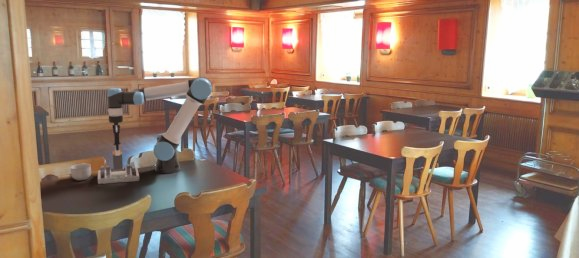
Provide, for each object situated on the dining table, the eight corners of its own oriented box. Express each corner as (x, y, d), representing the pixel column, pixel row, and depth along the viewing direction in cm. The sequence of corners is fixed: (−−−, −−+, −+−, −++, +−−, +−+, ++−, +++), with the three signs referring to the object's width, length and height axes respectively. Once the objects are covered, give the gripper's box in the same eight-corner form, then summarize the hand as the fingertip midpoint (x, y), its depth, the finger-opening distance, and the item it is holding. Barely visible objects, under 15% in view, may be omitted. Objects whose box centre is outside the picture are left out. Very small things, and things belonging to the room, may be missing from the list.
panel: (137, 172, 285) (136, 160, 283) (139, 180, 268) (138, 168, 267) (98, 175, 277) (97, 163, 275) (98, 184, 260) (97, 171, 259)
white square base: (134, 167, 284) (134, 161, 283) (136, 176, 267) (136, 170, 266) (100, 170, 277) (100, 164, 277) (100, 178, 260) (100, 172, 259)
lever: (125, 170, 274) (124, 150, 275) (125, 170, 272) (124, 150, 274) (110, 171, 271) (109, 151, 272) (110, 171, 269) (109, 151, 271)
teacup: (86, 182, 264) (85, 168, 262) (67, 181, 264) (66, 167, 262) (96, 175, 277) (96, 162, 276) (78, 174, 278) (77, 161, 276)
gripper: (108, 113, 272) (110, 153, 276) (108, 117, 260) (110, 158, 264) (122, 113, 274) (124, 152, 279) (123, 116, 263) (124, 157, 267)
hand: (117, 155), depth 271 cm, fingers closed
